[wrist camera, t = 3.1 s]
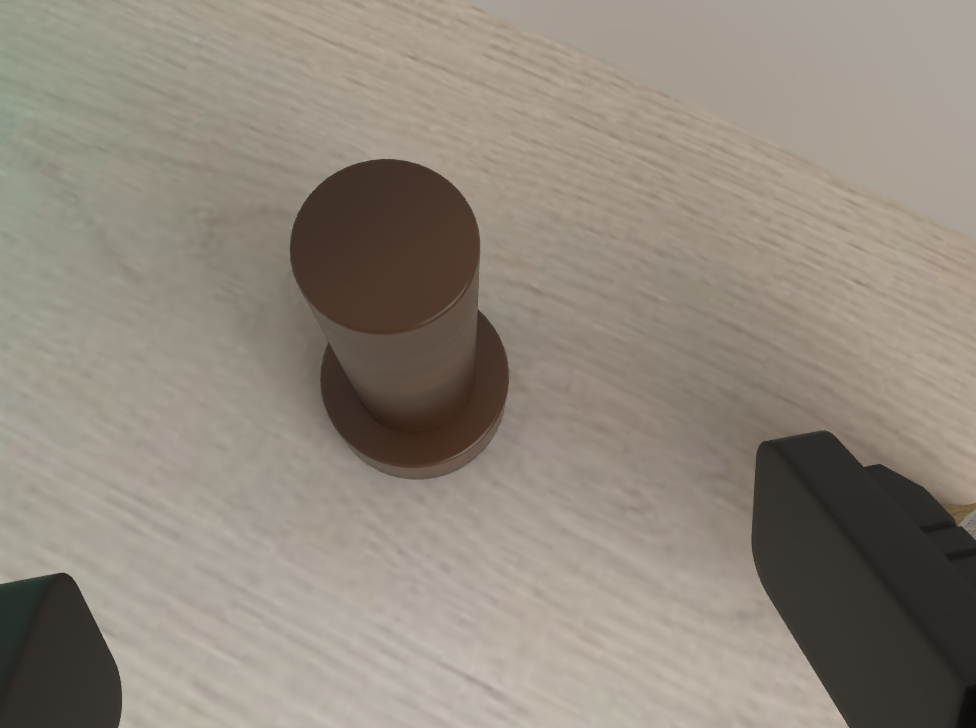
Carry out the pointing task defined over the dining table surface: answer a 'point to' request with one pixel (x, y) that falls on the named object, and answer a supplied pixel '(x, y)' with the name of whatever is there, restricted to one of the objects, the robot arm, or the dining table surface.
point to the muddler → (400, 317)
